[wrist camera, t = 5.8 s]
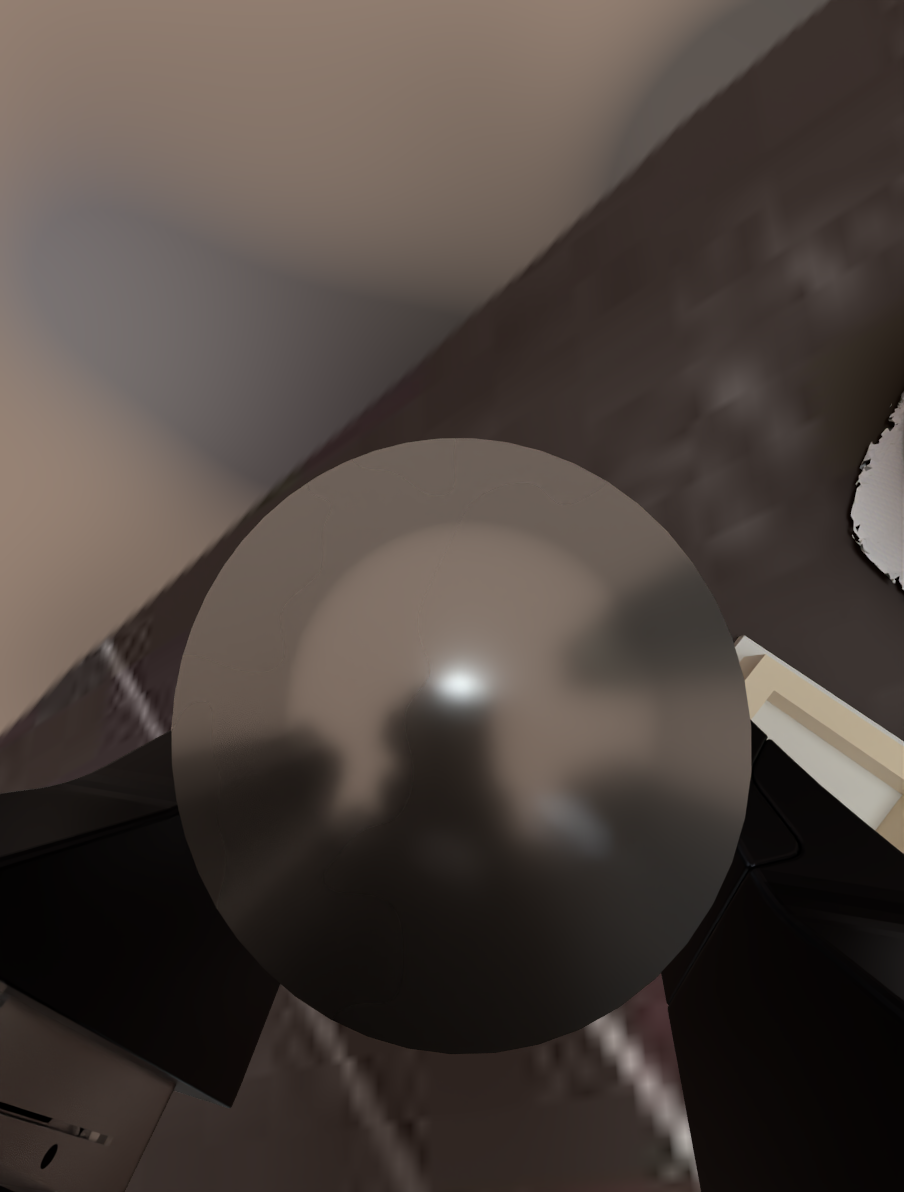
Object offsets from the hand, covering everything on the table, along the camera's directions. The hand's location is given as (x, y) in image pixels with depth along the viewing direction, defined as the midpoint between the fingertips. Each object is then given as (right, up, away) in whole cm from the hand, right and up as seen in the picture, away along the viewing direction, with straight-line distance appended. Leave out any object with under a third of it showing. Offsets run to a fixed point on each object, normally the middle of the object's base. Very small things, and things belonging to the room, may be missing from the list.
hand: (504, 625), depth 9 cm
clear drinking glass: (+1, -3, +6) cm, 7 cm away
